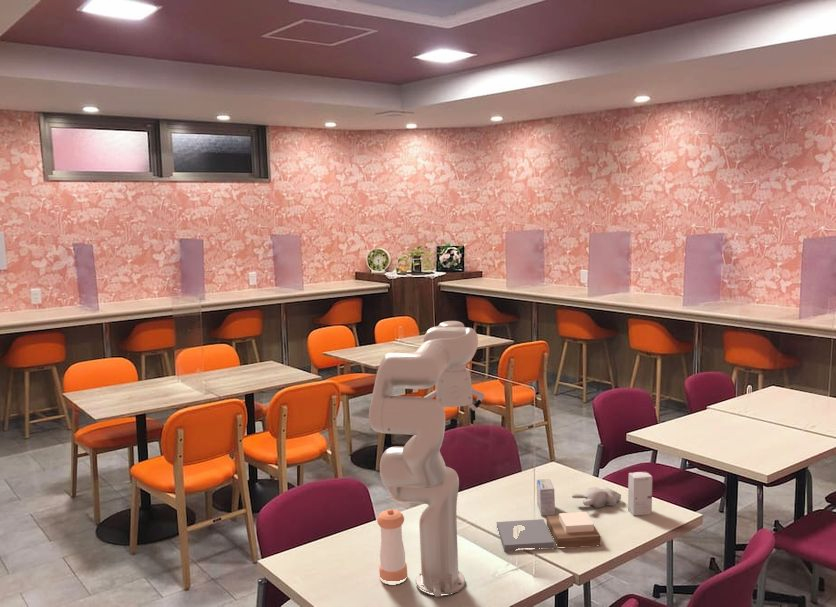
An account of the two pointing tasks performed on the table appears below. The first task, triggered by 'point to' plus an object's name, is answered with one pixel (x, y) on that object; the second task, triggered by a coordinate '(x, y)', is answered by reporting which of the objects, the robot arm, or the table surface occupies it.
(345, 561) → the table surface
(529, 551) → the table surface
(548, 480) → the medicine box
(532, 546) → the mat
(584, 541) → the serving board
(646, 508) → the skincare box
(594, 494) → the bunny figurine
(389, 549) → the pepper shaker
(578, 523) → the coaster
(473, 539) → the table surface
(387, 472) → the robot arm
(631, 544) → the table surface
